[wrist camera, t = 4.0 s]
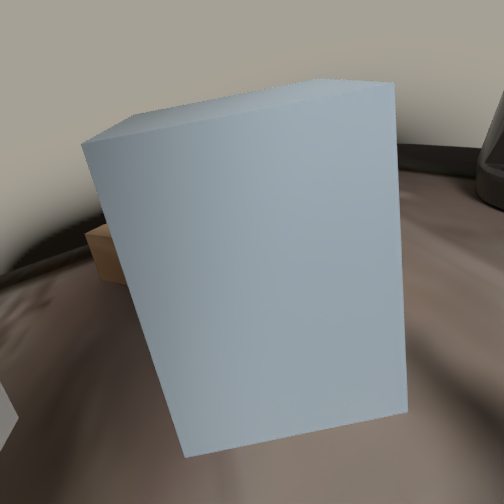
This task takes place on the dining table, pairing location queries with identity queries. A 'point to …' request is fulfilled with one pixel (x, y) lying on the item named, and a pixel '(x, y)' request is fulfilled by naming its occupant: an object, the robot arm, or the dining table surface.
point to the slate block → (263, 257)
